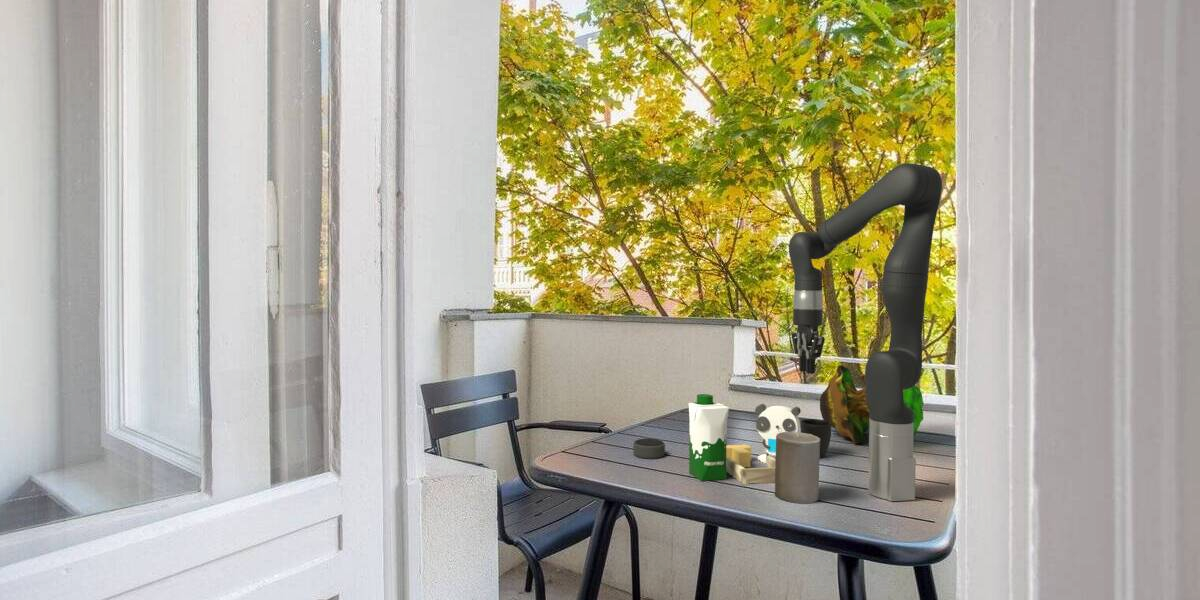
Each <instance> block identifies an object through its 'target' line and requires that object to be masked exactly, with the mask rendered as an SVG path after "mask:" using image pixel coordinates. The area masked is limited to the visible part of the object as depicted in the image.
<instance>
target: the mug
mask: <svg viewBox="0 0 1200 600" xmlns="http://www.w3.org/2000/svg"><path fill="white" fill-rule="evenodd" d="M799 422H800V433H806V434H811V435H814V436H816V437H818V438H820V459H823V458H826V457H827V453H828V450H829V446H830V443H831V437H832V427H831V423H830V422H828V421H824V420H823V419H817V418H816V419H815V418H809V419H807V418H801V419H800V420H799Z"/></svg>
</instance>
